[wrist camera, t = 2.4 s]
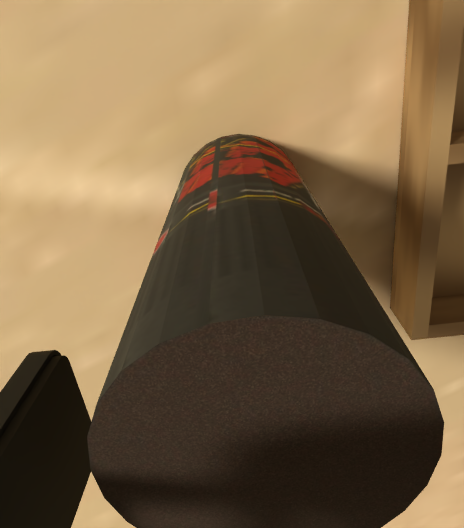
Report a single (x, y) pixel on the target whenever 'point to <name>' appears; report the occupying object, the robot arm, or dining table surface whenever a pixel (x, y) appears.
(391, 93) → the dining table surface
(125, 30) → the dining table surface
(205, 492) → the deodorant
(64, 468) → the robot arm
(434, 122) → the crate
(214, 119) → the dining table surface
